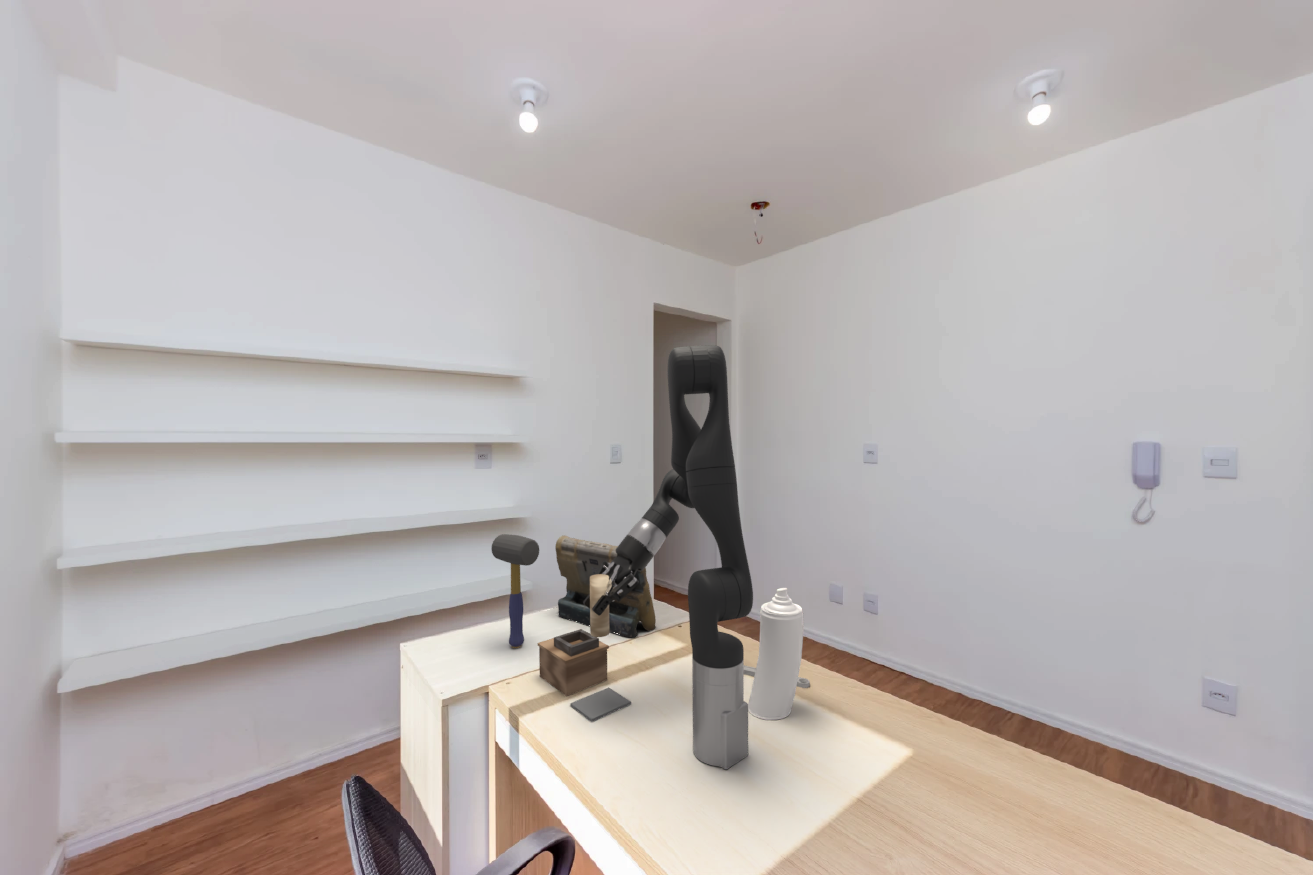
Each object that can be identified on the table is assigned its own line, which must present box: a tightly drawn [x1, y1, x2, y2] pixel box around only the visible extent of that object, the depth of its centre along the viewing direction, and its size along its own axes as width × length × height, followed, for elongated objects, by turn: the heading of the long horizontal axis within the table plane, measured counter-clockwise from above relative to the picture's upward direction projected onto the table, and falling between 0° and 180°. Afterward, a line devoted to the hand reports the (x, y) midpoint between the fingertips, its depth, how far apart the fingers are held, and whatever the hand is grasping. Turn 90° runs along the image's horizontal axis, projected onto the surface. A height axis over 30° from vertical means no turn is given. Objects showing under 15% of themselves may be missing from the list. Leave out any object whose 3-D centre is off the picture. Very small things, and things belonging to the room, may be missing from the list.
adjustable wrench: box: [744, 664, 811, 689], centre depth 123 cm, size 25×6×2 cm, turn 58°
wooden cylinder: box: [589, 574, 610, 638], centre depth 111 cm, size 4×4×12 cm
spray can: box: [747, 587, 805, 721], centre depth 110 cm, size 12×11×25 cm
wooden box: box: [537, 628, 610, 697], centre depth 123 cm, size 13×12×10 cm
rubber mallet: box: [491, 533, 540, 649], centre depth 140 cm, size 12×8×30 cm, turn 54°
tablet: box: [555, 534, 657, 639], centre depth 158 cm, size 33×14×25 cm, turn 59°
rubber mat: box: [569, 686, 632, 723], centre depth 111 cm, size 8×10×1 cm
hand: (591, 609), depth 109 cm, fingers closed on wooden cylinder, 4 cm apart
